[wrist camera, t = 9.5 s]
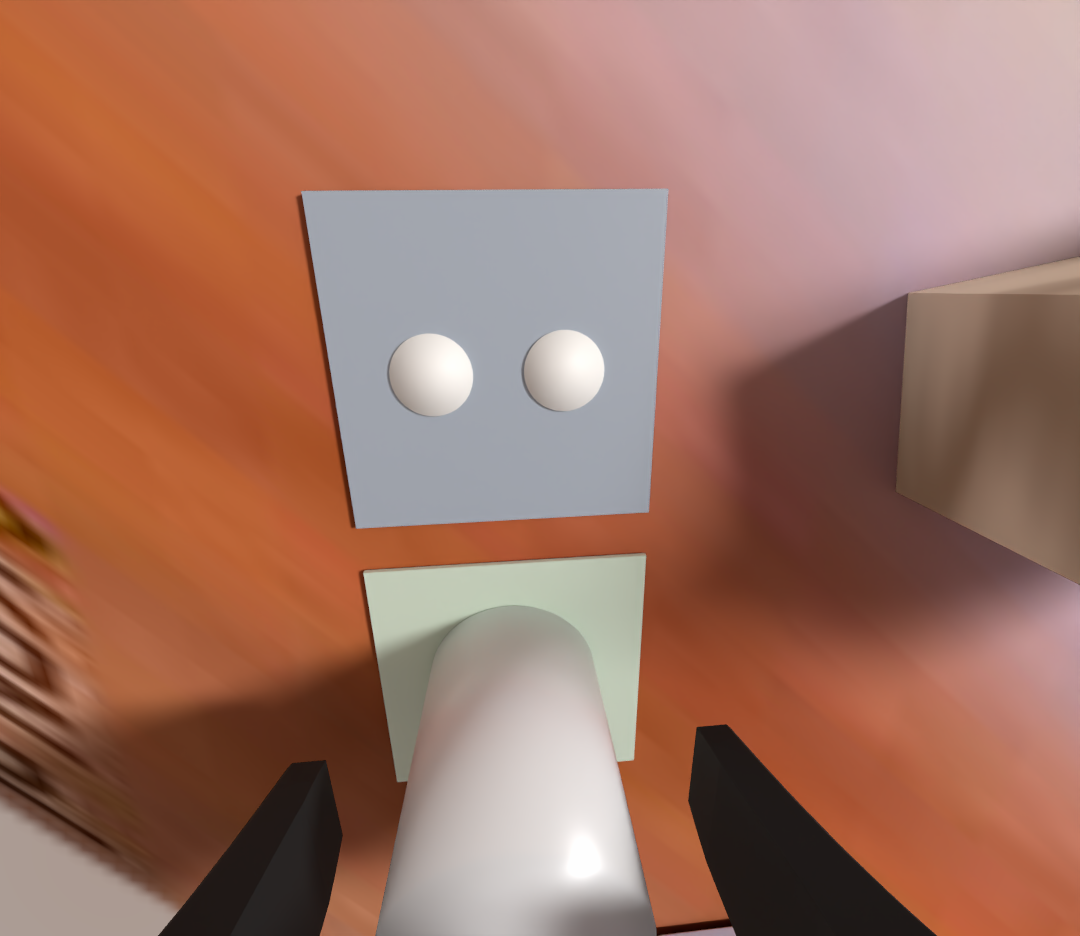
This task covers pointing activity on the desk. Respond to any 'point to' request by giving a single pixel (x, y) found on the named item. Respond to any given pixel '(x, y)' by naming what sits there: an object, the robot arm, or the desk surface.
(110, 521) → the desk surface
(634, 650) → the pad one
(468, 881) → the white capsule cylinder
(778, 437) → the desk surface
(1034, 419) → the birch block
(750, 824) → the robot arm
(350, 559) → the desk surface
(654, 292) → the pad two
